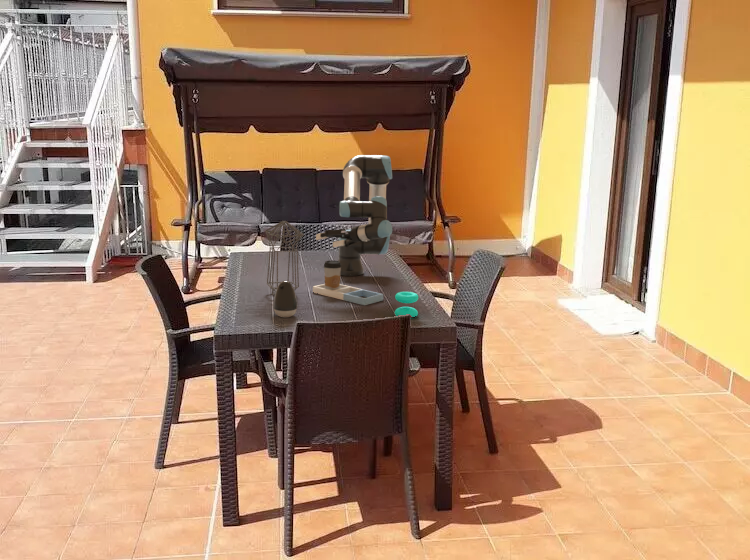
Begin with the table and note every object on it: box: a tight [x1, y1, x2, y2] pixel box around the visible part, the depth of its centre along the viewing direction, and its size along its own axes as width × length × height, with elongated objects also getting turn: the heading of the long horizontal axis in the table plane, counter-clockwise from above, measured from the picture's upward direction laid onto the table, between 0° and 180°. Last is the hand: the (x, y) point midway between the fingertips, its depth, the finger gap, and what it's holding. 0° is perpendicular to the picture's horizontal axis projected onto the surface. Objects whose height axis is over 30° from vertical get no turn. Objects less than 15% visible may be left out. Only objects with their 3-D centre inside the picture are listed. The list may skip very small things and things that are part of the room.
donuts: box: [394, 291, 420, 318], centre depth 329 cm, size 10×10×10 cm
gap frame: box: [312, 283, 384, 306], centre depth 361 cm, size 13×33×3 cm, turn 49°
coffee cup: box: [323, 260, 341, 290], centre depth 366 cm, size 8×8×15 cm
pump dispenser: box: [272, 280, 298, 318], centre depth 324 cm, size 10×10×15 cm
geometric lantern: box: [263, 220, 305, 297], centre depth 358 cm, size 16×16×35 cm
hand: (325, 241), depth 371 cm, fingers open, 13 cm apart
